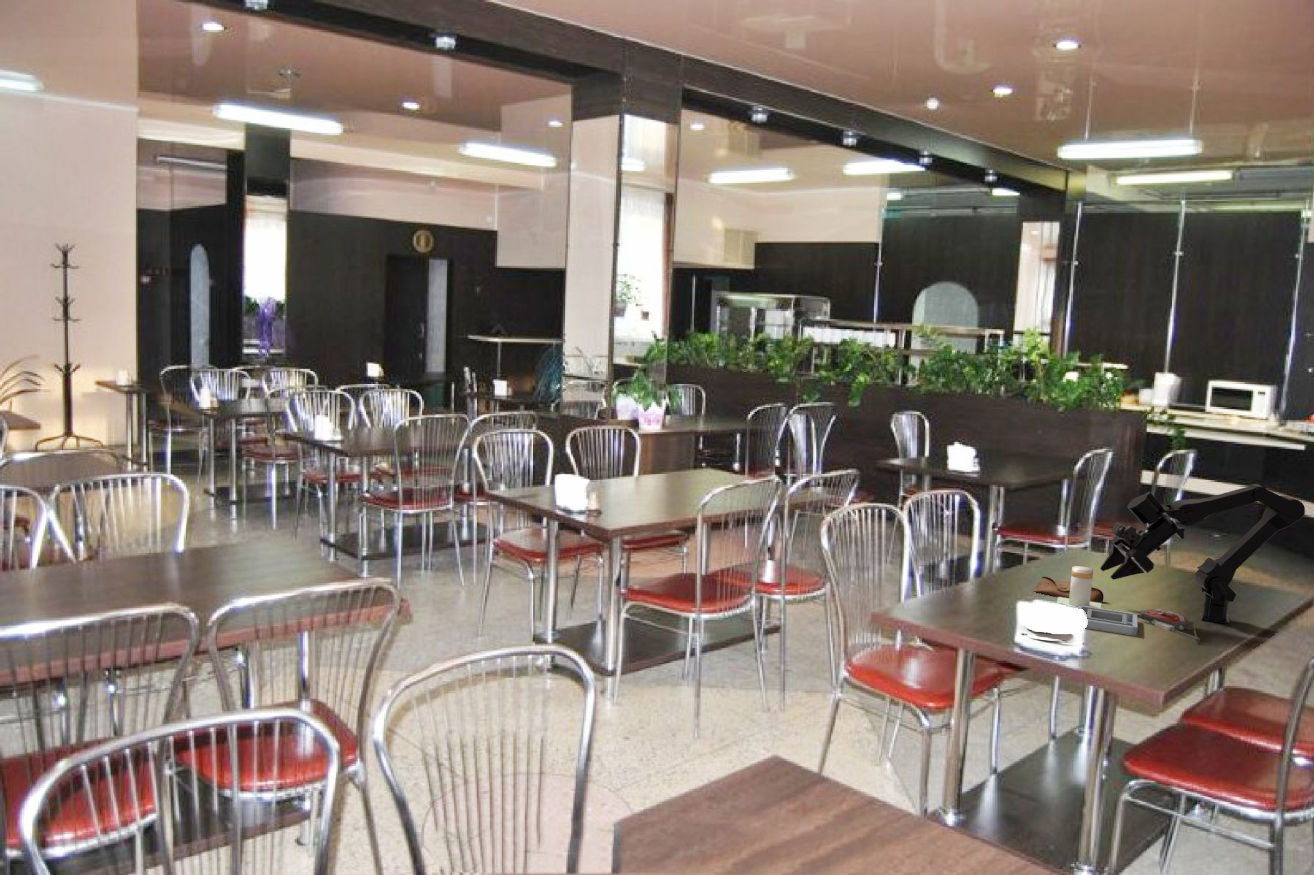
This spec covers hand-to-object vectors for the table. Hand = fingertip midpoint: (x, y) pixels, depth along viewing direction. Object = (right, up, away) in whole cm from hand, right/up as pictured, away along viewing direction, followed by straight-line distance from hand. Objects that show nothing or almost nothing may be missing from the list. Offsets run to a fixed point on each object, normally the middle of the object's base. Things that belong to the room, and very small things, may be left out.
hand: (1106, 574), depth 268 cm
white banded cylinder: (-6, -9, +2) cm, 11 cm away
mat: (-7, -10, +2) cm, 12 cm away
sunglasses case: (-5, -9, +14) cm, 17 cm away
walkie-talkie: (+11, -13, -14) cm, 22 cm away
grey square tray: (-7, -12, -14) cm, 20 cm away
